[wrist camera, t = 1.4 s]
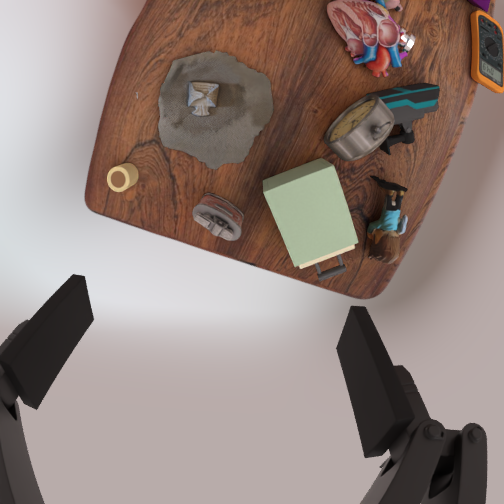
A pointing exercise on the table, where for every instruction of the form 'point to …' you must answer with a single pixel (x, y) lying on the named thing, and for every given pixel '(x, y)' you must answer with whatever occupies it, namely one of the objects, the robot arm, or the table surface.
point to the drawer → (332, 271)
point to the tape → (122, 177)
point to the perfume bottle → (481, 4)
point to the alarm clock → (360, 128)
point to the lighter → (219, 216)
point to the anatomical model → (368, 33)
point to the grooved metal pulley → (406, 40)
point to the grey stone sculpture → (213, 107)
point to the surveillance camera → (408, 109)
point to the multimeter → (487, 52)
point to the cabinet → (310, 211)
